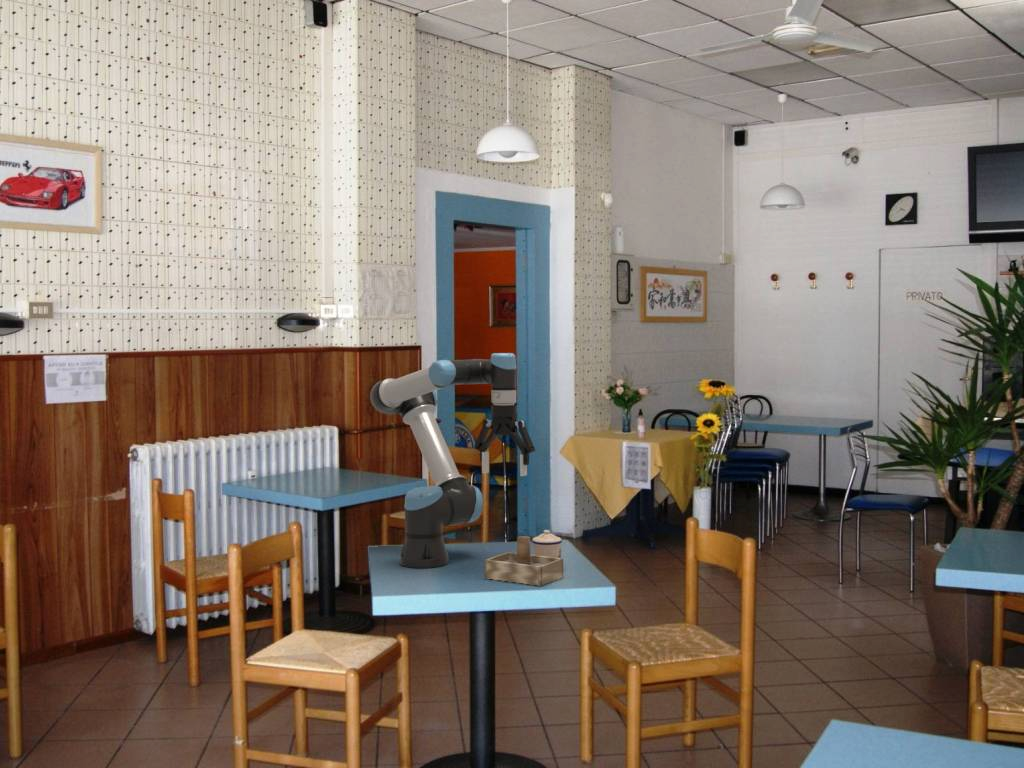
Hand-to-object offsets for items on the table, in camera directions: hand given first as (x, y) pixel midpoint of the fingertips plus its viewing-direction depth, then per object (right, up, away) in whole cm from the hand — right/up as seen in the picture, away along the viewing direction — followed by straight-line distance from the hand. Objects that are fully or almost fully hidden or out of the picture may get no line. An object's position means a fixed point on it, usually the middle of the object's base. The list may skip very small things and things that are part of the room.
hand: (504, 474), depth 318 cm
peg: (+6, -29, -12) cm, 32 cm away
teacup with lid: (+13, -29, +2) cm, 31 cm away
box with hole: (+6, -29, -12) cm, 32 cm away
